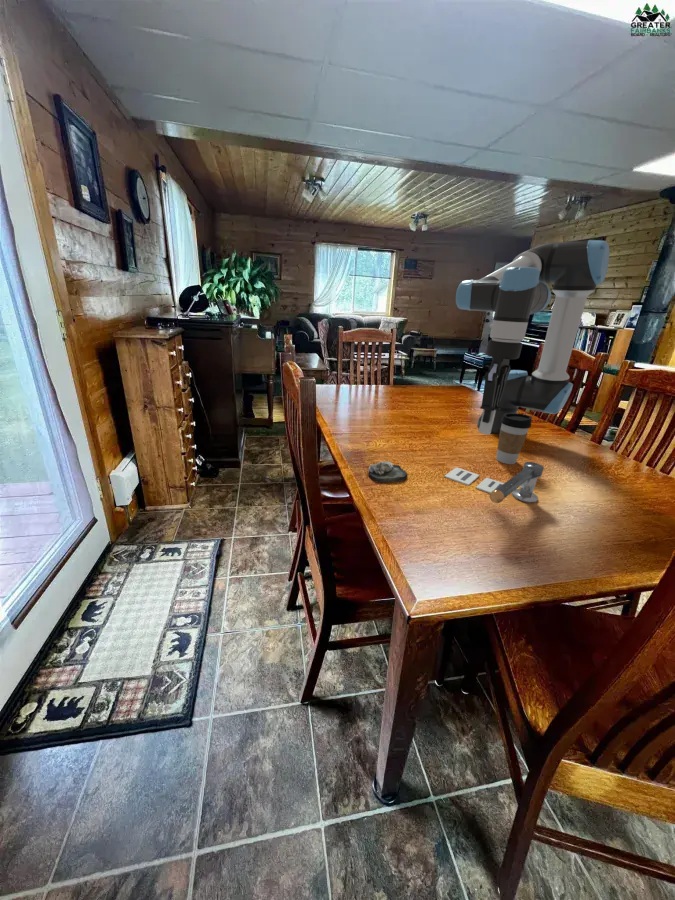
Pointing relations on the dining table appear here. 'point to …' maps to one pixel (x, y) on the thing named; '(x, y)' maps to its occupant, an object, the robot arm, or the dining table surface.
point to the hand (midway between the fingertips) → (484, 433)
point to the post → (526, 491)
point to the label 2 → (489, 485)
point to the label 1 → (462, 476)
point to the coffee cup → (512, 436)
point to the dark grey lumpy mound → (386, 472)
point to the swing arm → (516, 481)
